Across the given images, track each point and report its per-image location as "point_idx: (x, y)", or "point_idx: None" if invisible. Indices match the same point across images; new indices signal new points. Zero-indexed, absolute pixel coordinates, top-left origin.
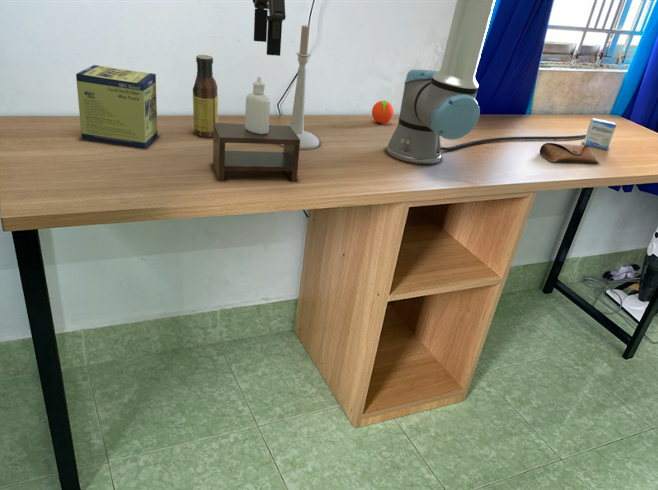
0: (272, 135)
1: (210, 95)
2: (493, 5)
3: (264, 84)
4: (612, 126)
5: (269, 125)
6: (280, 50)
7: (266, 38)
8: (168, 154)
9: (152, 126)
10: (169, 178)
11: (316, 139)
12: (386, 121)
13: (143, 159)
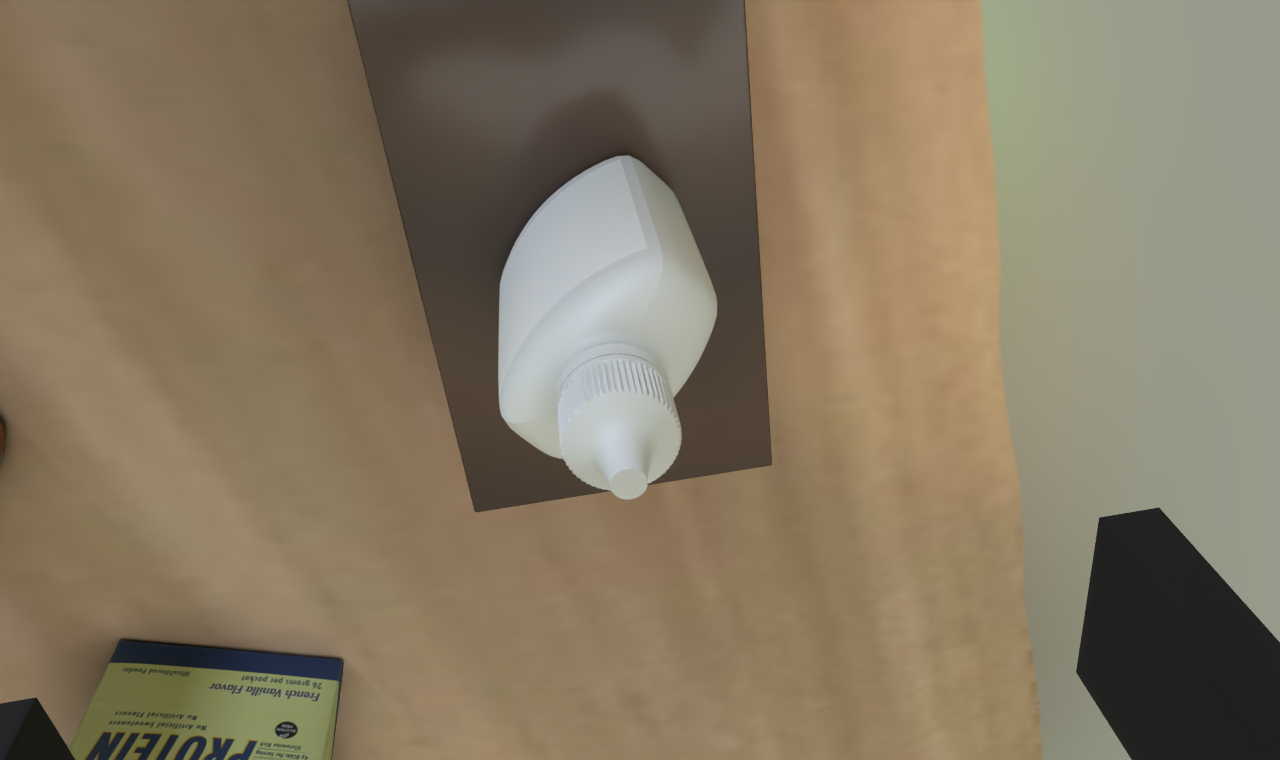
0: (665, 119)
1: None
2: None
3: (629, 389)
4: None
5: (389, 127)
6: (1208, 564)
7: (11, 749)
8: (387, 566)
9: (203, 708)
10: (711, 529)
11: None
12: None
13: (490, 644)
